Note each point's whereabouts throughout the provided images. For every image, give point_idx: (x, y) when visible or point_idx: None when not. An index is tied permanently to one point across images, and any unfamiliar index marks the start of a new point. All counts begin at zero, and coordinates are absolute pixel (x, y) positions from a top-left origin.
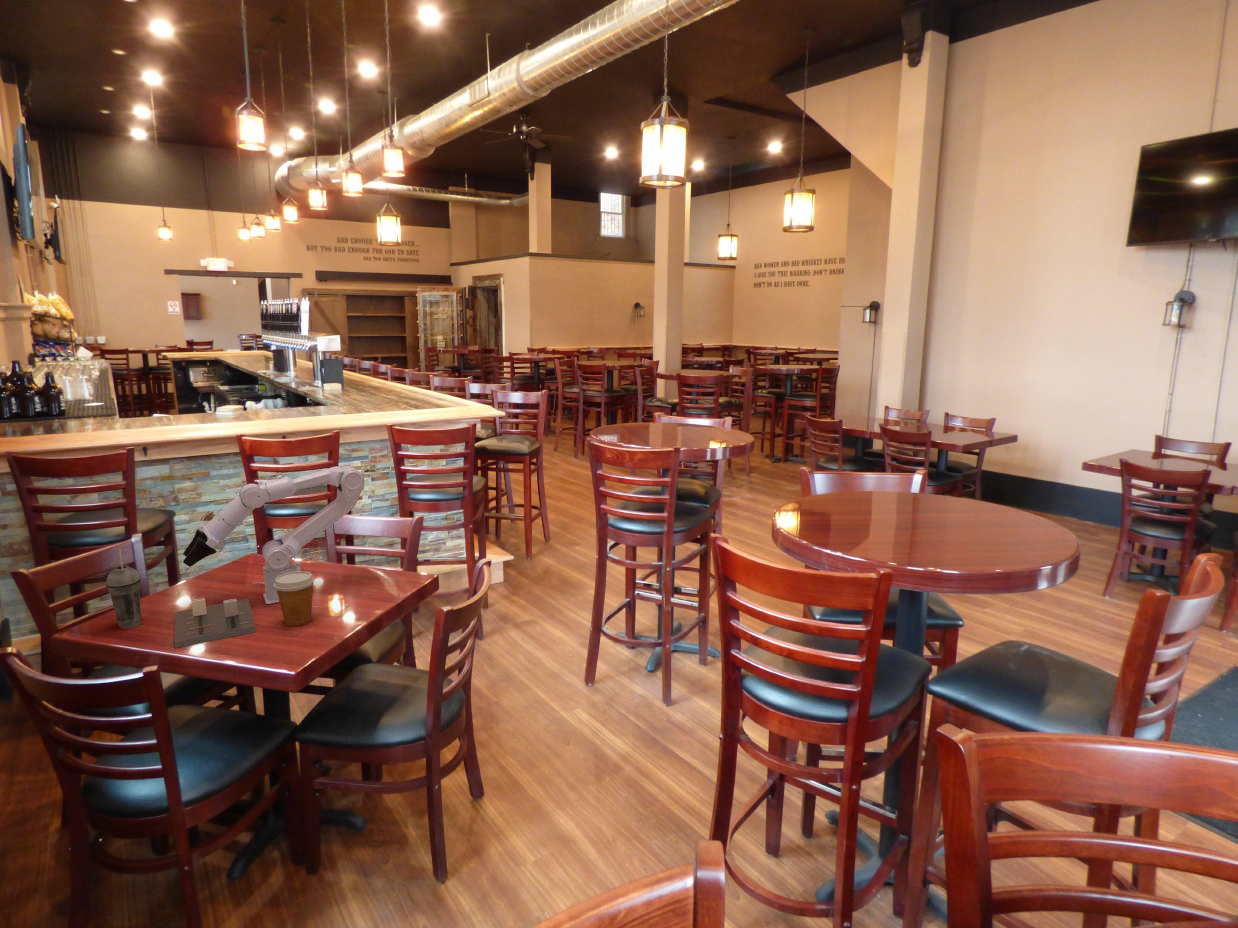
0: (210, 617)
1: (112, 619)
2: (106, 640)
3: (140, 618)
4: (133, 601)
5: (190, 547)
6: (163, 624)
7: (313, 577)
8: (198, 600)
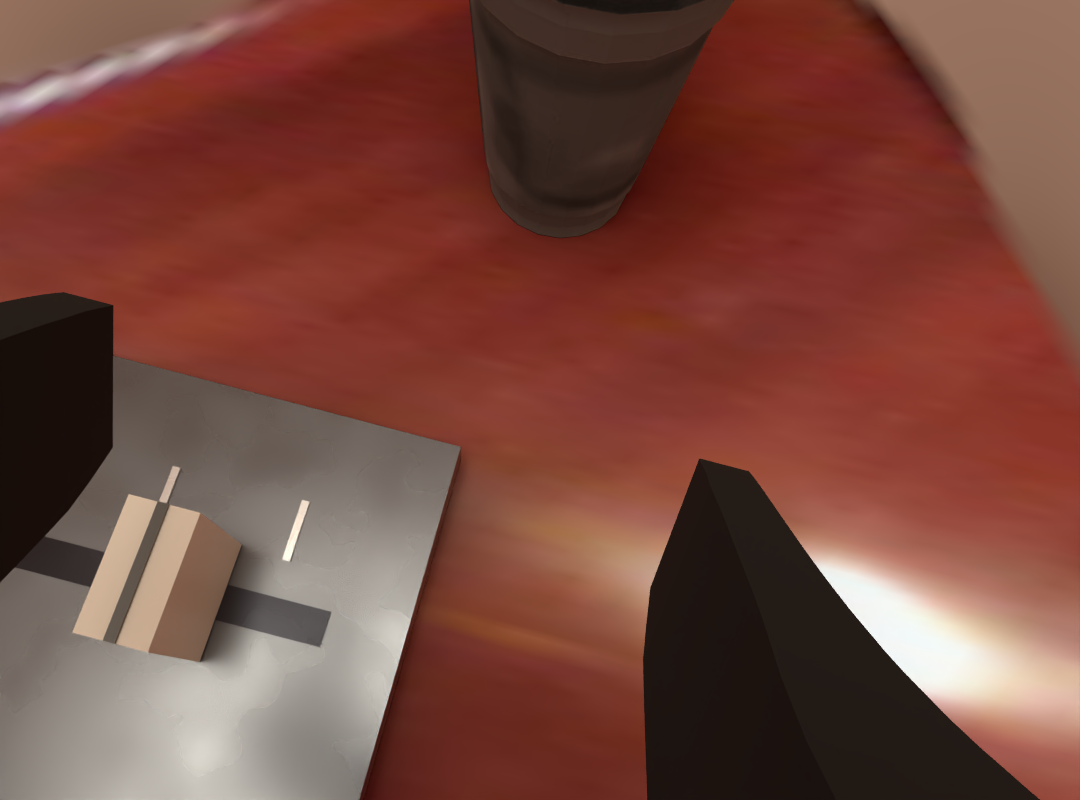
0: (22, 648)
1: (777, 123)
2: (366, 10)
3: (537, 214)
4: (476, 52)
5: (718, 604)
6: (369, 345)
7: None
8: (112, 567)
